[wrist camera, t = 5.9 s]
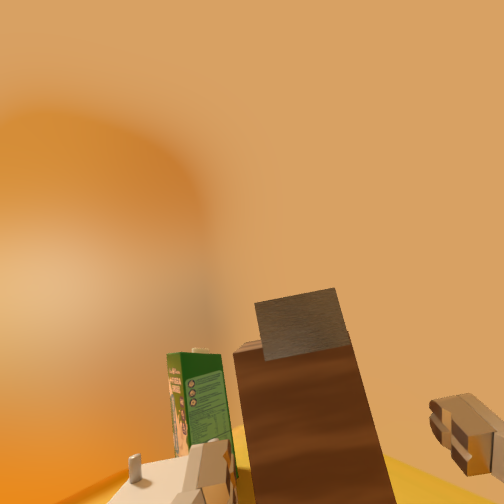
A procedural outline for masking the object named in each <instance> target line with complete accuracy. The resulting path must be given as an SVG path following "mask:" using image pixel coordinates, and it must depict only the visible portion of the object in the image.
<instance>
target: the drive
mask: <svg viewBox="0 0 504 504" xmlns="http://www.w3.org/2000/svg"><path fill="white" fill-rule="evenodd" d="M255 310H256V315H257V321H258V325H259V331H260V337H261V342H262V347H263V353H264V358H265V361H270V360H275V359H280V358H285V357H290V356H295V355H300V354H305V353H310V352H315V351H321V350H326V349H331V348H336V347H341V346H346V345H351V344H350V340H349V337H348V333H347V330H346V326H345V322H344V319H343V315H342V312H341V308H340V305H339V301H338V298H337V294H336V290H335V288H330V289H325V290H319V291H315V292H310V293H304V294H299V295H294V296H289V297H283V298H279V299H273V300H268V301H263V302H258V303H255Z"/></svg>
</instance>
